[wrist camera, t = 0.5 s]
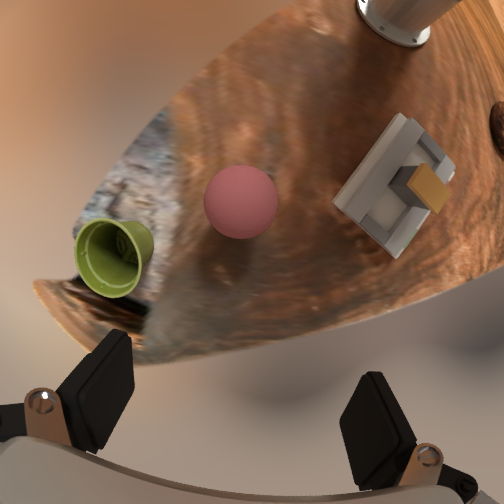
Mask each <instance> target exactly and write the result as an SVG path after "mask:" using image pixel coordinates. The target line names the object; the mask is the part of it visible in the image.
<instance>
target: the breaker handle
mask: <svg viewBox="0 0 504 504" xmlns="http://www.w3.org/2000/svg"><path fill="white" fill-rule="evenodd" d="M387 186H388V187H389V188H390V189H391V190H392V191H393V192H394V193H395V194H396V195H397V196H398V197H399V198H400V199H401V200H402V201H403V202H404V203H405V204H406V205H410V206H414V207H418V208H422V209H426V210H430V211H431V212H432V213H435V214H438V213H439V211H440V210H441V208H442V207H443V205H444V204H445V202H446V200H447V199H448V197H449V195H450V194H451V192H450V191H449V189H448V188H447V187H446V186H445V184H444V183H443V182H442V181H441V180H440V178H439V177H438V176H437V175H436V174H435V172H434V171H433V170H432V169H431V168H430V167H429V166H428V164H427V163H420V165H419V166H401V167H400V168H399V170H398V171H397V172H396V174H395V175H394V177H393V178H392V180H391V181H390V182H389V184H388V185H387Z"/></svg>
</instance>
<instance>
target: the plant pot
mask: <svg viewBox="0 0 504 504" xmlns="http://www.w3.org/2000/svg"><path fill="white" fill-rule="evenodd" d="M119 241H121V246H122V250H121V248H120V246H119ZM132 243H133V245H132ZM153 249H154V241H153V237H152V234H151V232H150V231H149V229H148V228H147V227H145V226H144V225H143V224H141V223H140V222H136V221H128V222H117V221H115V220H113V219H109V218H97V219H94V220H91V221H89V222H88V223H86V224H85V225H84V226H83V227H82V229H81V230H80V231H79V233H78V235H77V238H76V241H75V246H74V256H75V263H76V266H77V269H78V271H79V273H80V275H81V277H82V278H83V280H84V281H85V283H86V284H87V285H88V286H89V287H90V288H91V289H92V290H93V291H95V292H96V293H98V294H100V295H103V296H105V297H109V298H118V297H122V296H125V295H127V294H128V293H130V292H131V291H132V290H133V289H134V288H135V287H136V285H137V283H138V282H139V279H140V276H141V272H142V268H143V266H144V265H145V263H146V262H147V261H148V259H149V258H150V256H151V254H152V252H153ZM134 258H138V260H134Z"/></svg>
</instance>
